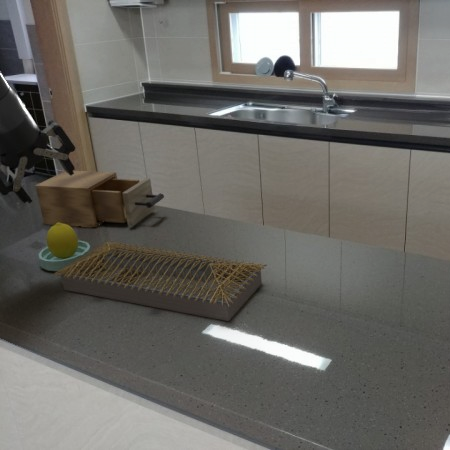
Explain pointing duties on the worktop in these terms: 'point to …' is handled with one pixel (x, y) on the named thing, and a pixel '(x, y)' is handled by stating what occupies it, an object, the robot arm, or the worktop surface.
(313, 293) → the worktop surface
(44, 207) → the cabinet
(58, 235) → the lemon
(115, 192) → the drawer
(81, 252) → the bowl
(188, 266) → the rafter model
